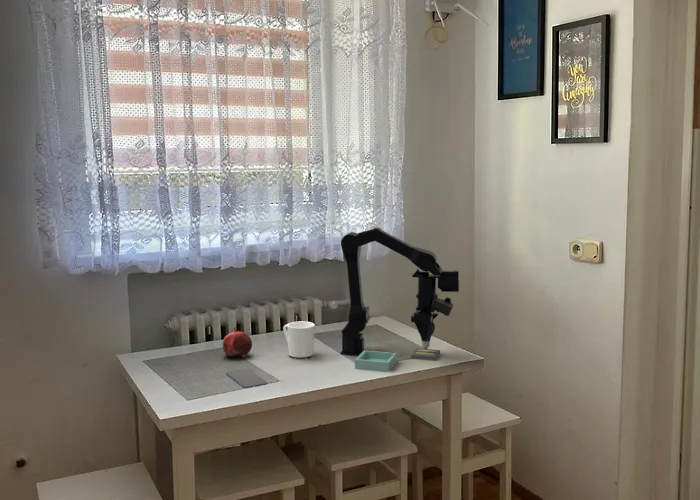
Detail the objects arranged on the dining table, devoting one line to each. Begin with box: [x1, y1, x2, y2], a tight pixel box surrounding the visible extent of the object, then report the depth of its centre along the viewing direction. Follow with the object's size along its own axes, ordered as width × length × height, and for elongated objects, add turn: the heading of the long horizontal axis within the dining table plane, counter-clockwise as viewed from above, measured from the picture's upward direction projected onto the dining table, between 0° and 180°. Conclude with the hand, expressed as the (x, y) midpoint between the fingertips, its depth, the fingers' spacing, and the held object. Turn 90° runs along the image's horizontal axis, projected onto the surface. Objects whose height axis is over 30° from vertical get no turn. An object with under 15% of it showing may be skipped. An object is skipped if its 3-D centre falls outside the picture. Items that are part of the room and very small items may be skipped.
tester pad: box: [410, 347, 441, 361], centre depth 239 cm, size 8×8×1 cm
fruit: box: [222, 325, 253, 358], centre depth 238 cm, size 9×10×10 cm
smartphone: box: [225, 368, 268, 389], centre depth 216 cm, size 8×1×15 cm
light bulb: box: [417, 321, 436, 349], centre depth 238 cm, size 6×6×10 cm
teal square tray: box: [354, 349, 398, 373], centre depth 229 cm, size 11×11×3 cm
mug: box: [282, 320, 316, 360], centre depth 239 cm, size 11×9×10 cm
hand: (425, 338), depth 238 cm, fingers closed on light bulb, 5 cm apart
